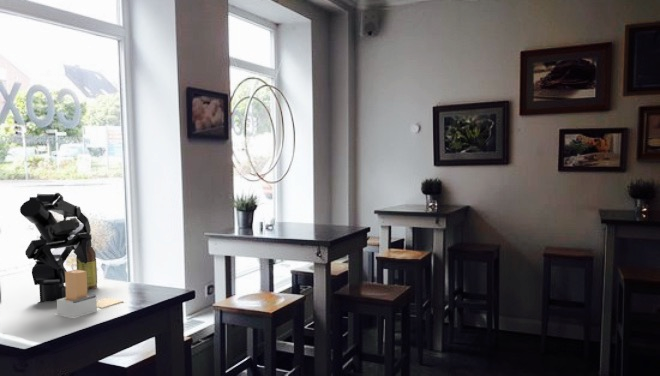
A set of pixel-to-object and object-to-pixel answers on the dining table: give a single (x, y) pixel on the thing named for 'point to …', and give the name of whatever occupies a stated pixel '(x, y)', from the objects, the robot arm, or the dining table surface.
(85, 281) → the tan rectangular block
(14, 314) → the dining table surface
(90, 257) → the sauce bottle
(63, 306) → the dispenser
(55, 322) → the dining table surface
